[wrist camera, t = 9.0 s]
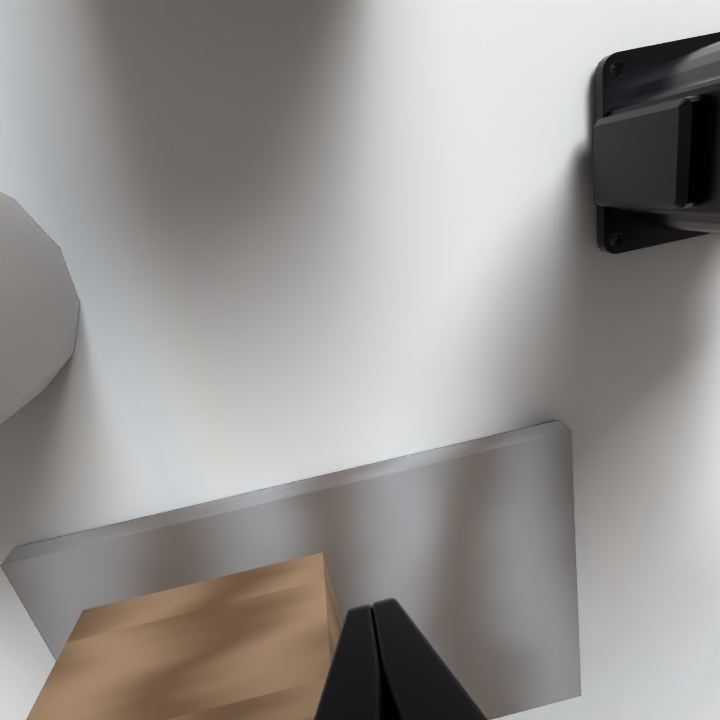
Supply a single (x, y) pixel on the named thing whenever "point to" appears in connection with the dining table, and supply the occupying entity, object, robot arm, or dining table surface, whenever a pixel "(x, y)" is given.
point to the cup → (31, 309)
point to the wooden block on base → (317, 587)
